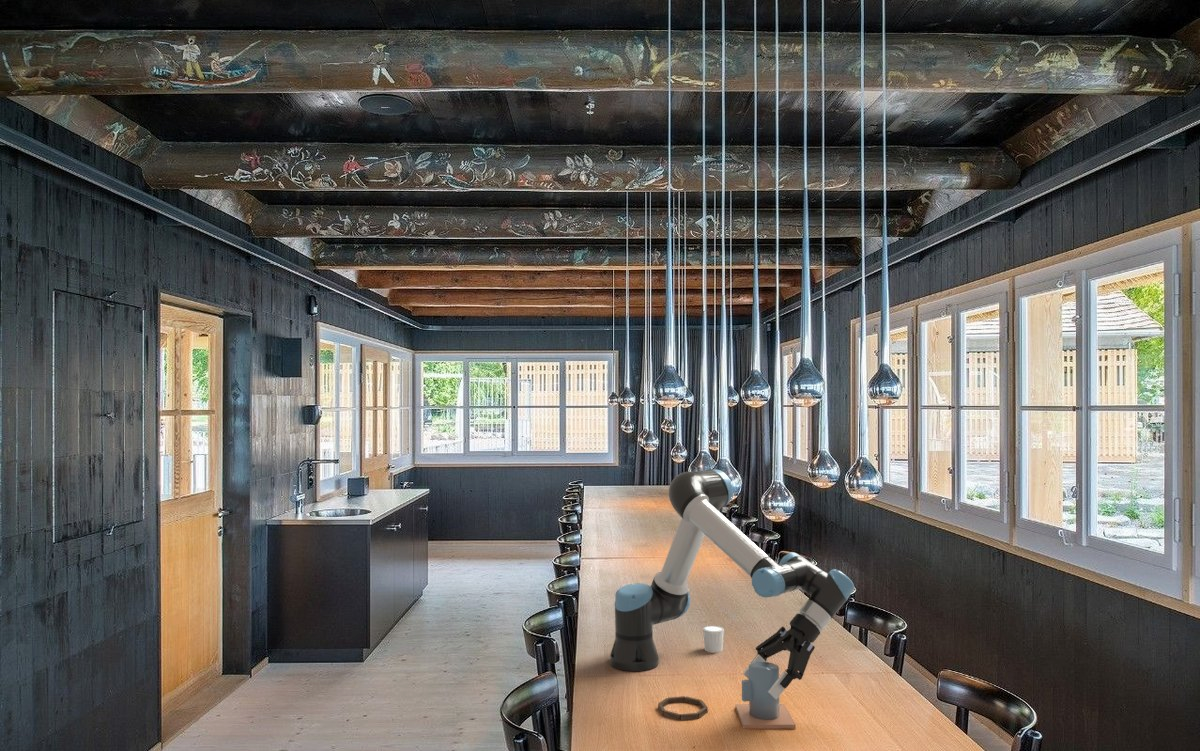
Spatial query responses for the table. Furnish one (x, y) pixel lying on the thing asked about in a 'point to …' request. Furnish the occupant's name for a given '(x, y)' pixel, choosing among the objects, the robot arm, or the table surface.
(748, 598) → the table surface
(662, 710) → the walnut collar
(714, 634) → the white tapered cylinder
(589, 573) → the table surface
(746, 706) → the terracotta tile
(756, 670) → the grey canister
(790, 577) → the robot arm
